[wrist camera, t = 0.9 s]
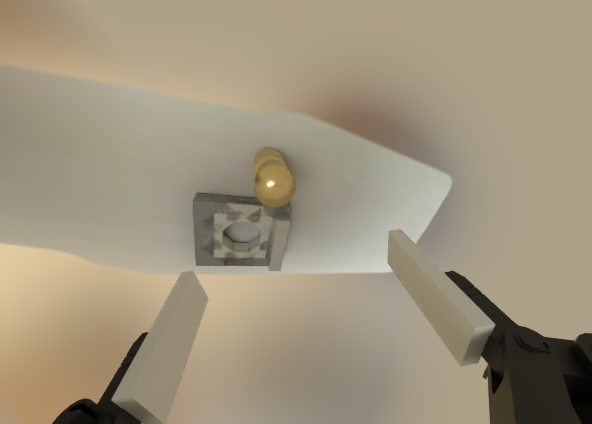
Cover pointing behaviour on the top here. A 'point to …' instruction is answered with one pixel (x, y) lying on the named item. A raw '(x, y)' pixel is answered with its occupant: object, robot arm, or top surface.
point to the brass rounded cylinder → (272, 178)
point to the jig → (227, 209)
